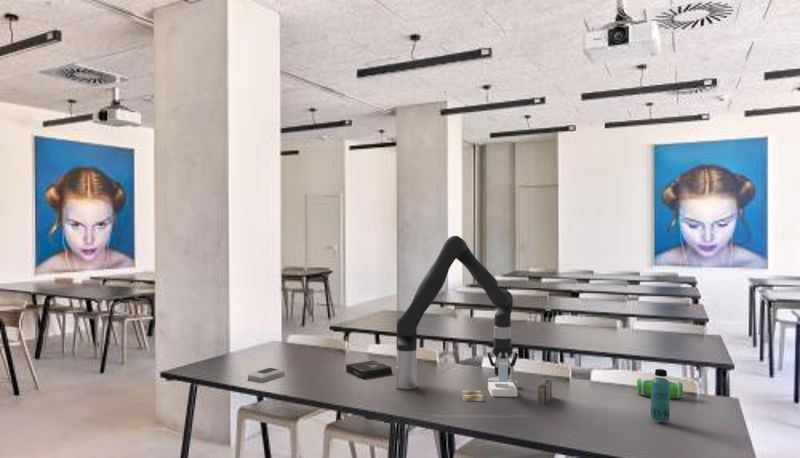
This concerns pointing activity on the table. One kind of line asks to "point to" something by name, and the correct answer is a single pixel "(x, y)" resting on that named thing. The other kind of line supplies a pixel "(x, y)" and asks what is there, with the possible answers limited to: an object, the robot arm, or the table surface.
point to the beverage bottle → (660, 396)
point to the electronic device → (508, 380)
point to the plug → (502, 370)
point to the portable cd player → (368, 369)
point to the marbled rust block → (544, 391)
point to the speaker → (646, 388)
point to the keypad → (266, 374)
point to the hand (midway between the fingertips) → (502, 375)
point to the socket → (502, 389)
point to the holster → (472, 396)
